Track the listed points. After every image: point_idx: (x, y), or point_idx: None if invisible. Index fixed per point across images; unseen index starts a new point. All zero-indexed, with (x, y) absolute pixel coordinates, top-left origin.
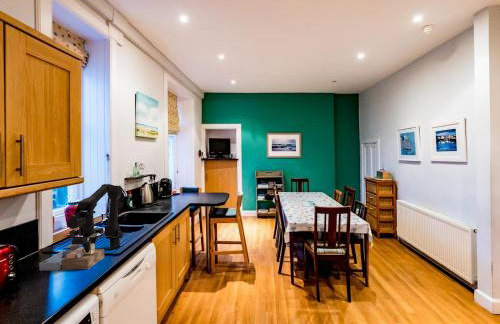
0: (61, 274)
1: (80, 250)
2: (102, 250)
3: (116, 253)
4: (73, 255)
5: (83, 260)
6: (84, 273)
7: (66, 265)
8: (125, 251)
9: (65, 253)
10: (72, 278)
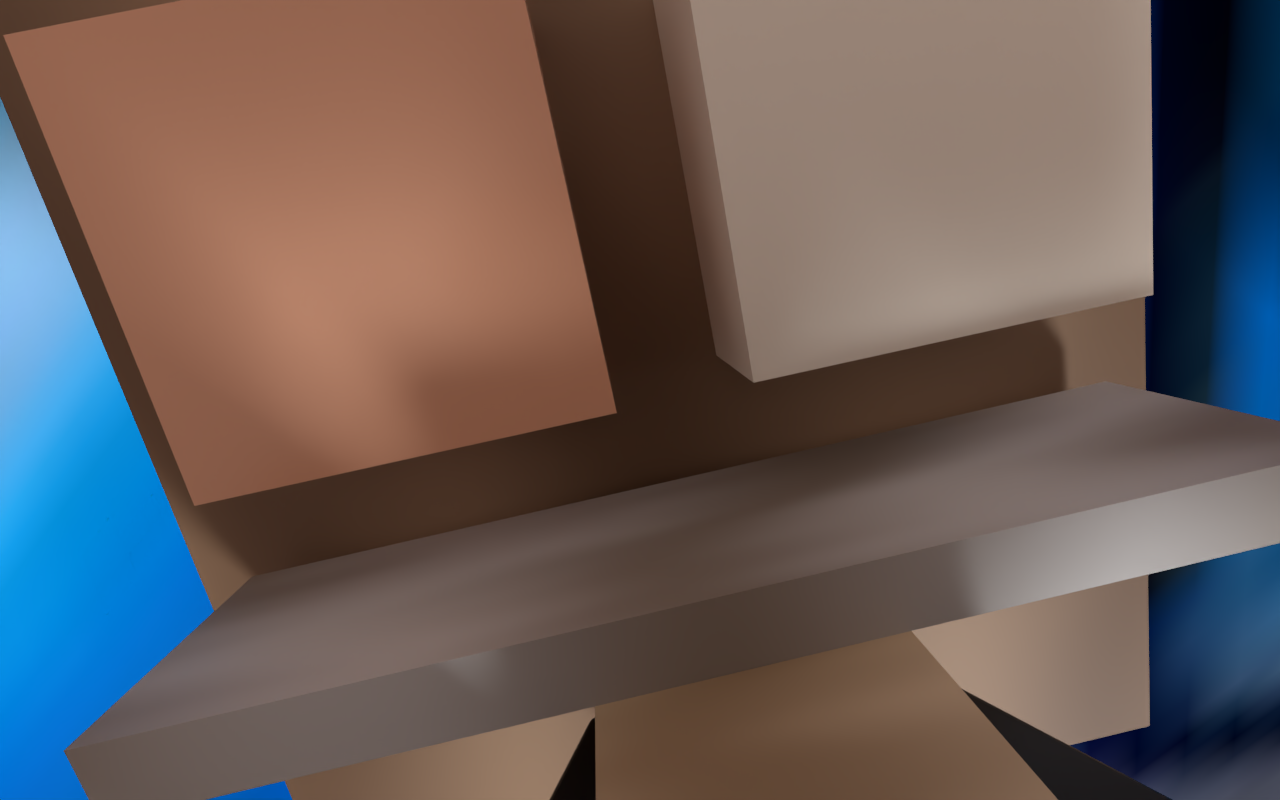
0: (31, 354)
1: (391, 693)
2: (1060, 729)
3: (1175, 665)
4: (188, 430)
5: (309, 794)
6: (252, 792)
7: None
8: (1266, 763)
9: None
10: (12, 752)
